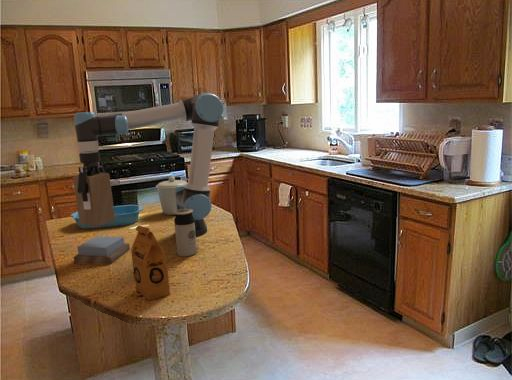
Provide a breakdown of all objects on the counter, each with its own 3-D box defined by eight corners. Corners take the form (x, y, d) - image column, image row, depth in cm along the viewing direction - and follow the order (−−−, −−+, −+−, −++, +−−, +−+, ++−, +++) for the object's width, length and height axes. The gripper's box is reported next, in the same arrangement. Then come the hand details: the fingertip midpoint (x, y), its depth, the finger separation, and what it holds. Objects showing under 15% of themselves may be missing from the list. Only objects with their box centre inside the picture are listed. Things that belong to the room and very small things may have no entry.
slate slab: (124, 244, 179) (123, 237, 178) (107, 256, 166) (106, 247, 166) (97, 244, 182) (96, 236, 181) (78, 255, 169) (77, 246, 169)
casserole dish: (144, 214, 241) (143, 202, 239) (144, 224, 219) (143, 211, 218) (76, 221, 232) (74, 209, 231) (69, 233, 211) (67, 219, 209)
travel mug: (173, 253, 173) (169, 211, 170) (190, 248, 178) (186, 207, 175) (183, 258, 167) (179, 214, 164) (200, 253, 172) (197, 210, 169)
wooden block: (99, 218, 178) (93, 171, 174) (115, 220, 173) (109, 172, 169) (79, 224, 170) (72, 176, 166) (95, 227, 165) (89, 177, 161)
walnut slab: (130, 251, 181) (129, 243, 180) (112, 265, 166) (111, 257, 165) (95, 251, 184) (94, 243, 183) (74, 265, 168) (73, 256, 168)
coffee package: (144, 304, 130) (136, 236, 126) (132, 290, 141) (124, 227, 136) (174, 294, 135) (168, 229, 131) (161, 282, 146) (154, 221, 141)
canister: (181, 207, 252) (177, 172, 247) (197, 212, 238) (193, 175, 233) (153, 213, 240) (149, 177, 236) (168, 219, 227) (164, 180, 222)
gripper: (96, 148, 178) (102, 198, 182) (62, 156, 155) (70, 213, 159) (112, 148, 177) (118, 198, 181) (80, 155, 153) (88, 213, 158)
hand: (96, 205), depth 170 cm, fingers closed on wooden block, 12 cm apart
